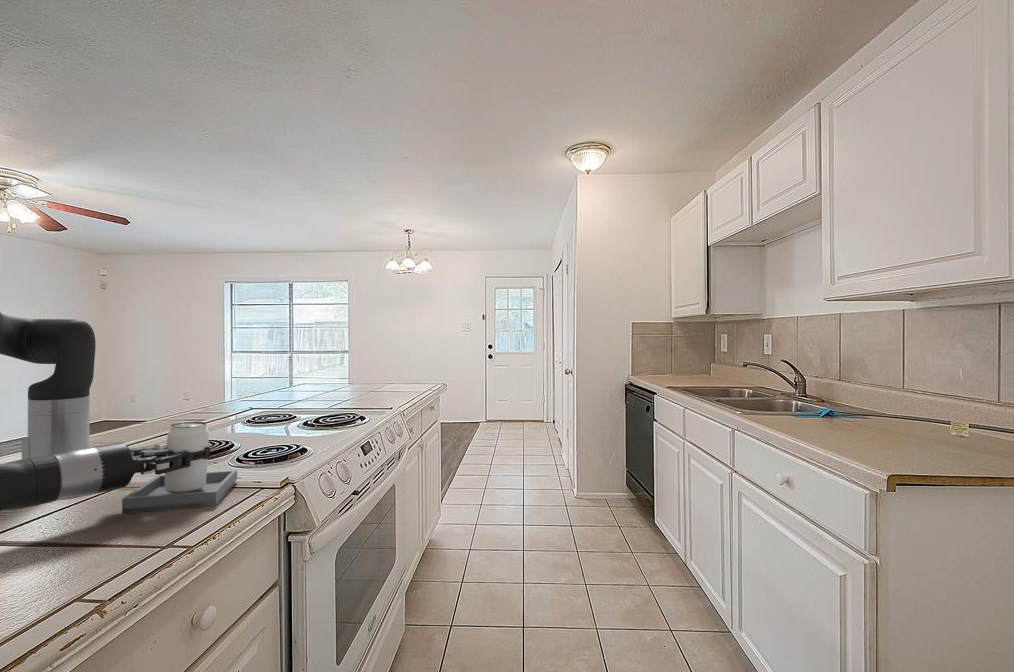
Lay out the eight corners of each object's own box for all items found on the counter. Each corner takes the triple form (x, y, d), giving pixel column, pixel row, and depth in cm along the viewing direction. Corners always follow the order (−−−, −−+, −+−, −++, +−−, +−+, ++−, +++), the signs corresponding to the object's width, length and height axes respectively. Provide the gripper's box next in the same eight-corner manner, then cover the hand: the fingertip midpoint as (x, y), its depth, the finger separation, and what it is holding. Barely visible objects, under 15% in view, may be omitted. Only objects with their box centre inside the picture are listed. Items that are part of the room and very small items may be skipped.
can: (184, 495, 85) (188, 428, 85) (154, 491, 86) (158, 425, 86) (214, 485, 91) (217, 422, 91) (186, 481, 92) (189, 419, 93)
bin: (122, 513, 80) (122, 498, 80) (157, 488, 94) (157, 475, 94) (215, 505, 84) (216, 491, 84) (237, 482, 98) (237, 470, 98)
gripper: (110, 453, 73) (222, 434, 88) (70, 442, 80) (179, 426, 95) (110, 502, 73) (221, 475, 88) (69, 487, 80) (179, 464, 95)
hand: (199, 450), depth 91 cm, fingers closed on can, 5 cm apart
